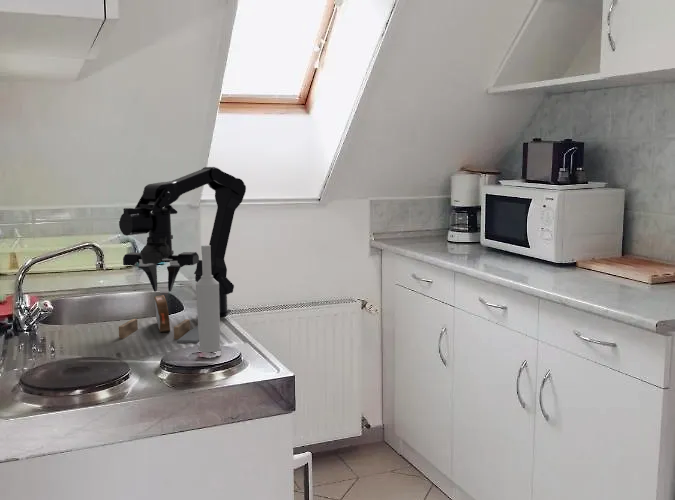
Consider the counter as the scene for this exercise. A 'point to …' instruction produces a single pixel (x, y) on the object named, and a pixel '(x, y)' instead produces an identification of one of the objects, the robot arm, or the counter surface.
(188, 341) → the grey plank
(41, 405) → the counter surface
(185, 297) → the counter surface
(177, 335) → the tan wooden plank
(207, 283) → the bottle
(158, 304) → the tin
